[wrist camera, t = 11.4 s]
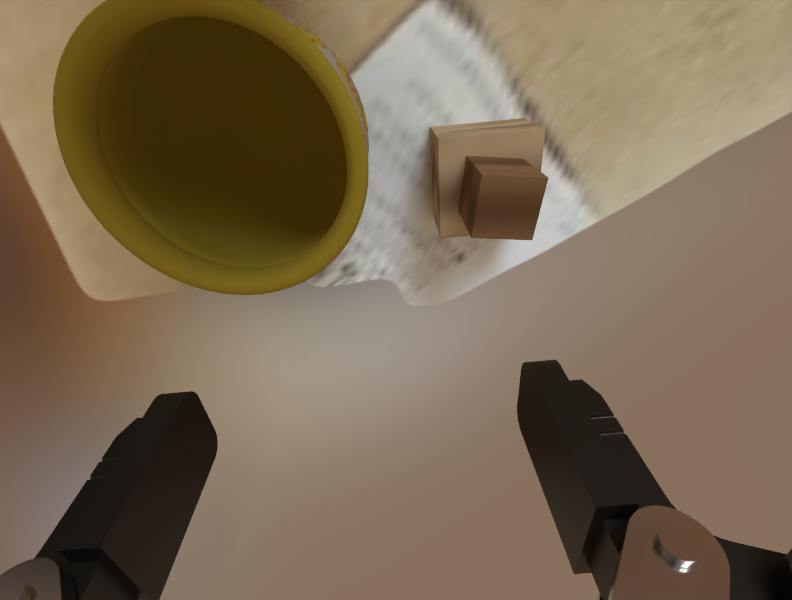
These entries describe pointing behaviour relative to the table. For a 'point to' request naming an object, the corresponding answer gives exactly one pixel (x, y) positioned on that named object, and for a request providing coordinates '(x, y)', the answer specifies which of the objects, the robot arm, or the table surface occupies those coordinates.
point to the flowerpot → (213, 140)
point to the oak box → (475, 141)
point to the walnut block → (501, 197)
